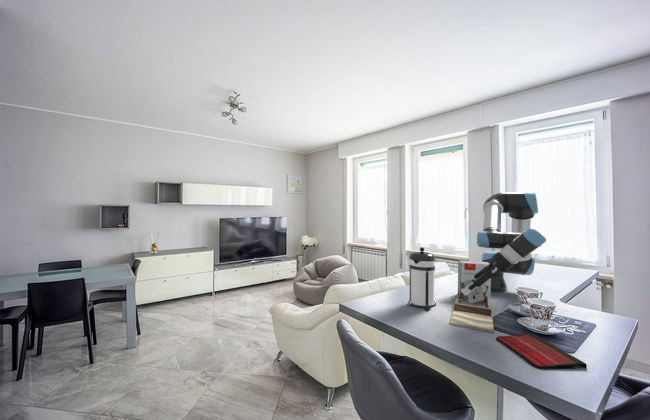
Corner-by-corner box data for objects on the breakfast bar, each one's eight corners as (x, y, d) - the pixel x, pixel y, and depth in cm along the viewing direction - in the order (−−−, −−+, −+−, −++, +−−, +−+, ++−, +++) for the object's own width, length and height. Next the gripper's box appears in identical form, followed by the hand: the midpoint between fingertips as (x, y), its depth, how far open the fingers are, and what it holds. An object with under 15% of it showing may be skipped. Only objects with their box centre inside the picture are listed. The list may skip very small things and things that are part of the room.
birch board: (453, 312, 131) (453, 310, 131) (492, 318, 123) (492, 316, 123) (450, 324, 118) (450, 321, 118) (493, 332, 110) (493, 330, 110)
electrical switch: (470, 303, 116) (468, 281, 117) (460, 301, 120) (458, 279, 121) (485, 300, 120) (483, 279, 121) (474, 298, 124) (472, 277, 125)
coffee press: (444, 311, 133) (444, 249, 133) (411, 310, 133) (411, 249, 133) (431, 299, 150) (431, 245, 150) (402, 299, 150) (402, 244, 150)
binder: (533, 332, 106) (587, 363, 85) (533, 338, 106) (587, 370, 85) (493, 334, 105) (537, 366, 84) (493, 340, 105) (537, 373, 84)
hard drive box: (459, 298, 153) (459, 262, 153) (457, 294, 160) (457, 260, 160) (491, 300, 148) (491, 264, 148) (487, 296, 156) (487, 261, 156)
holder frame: (457, 298, 152) (457, 292, 152) (489, 303, 144) (489, 296, 144) (454, 310, 133) (454, 303, 133) (491, 317, 126) (491, 309, 126)
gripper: (517, 269, 103) (469, 304, 111) (511, 260, 122) (471, 291, 130) (500, 254, 106) (455, 289, 114) (497, 248, 125) (458, 278, 133)
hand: (463, 290), depth 122 cm, fingers closed on electrical switch, 9 cm apart
